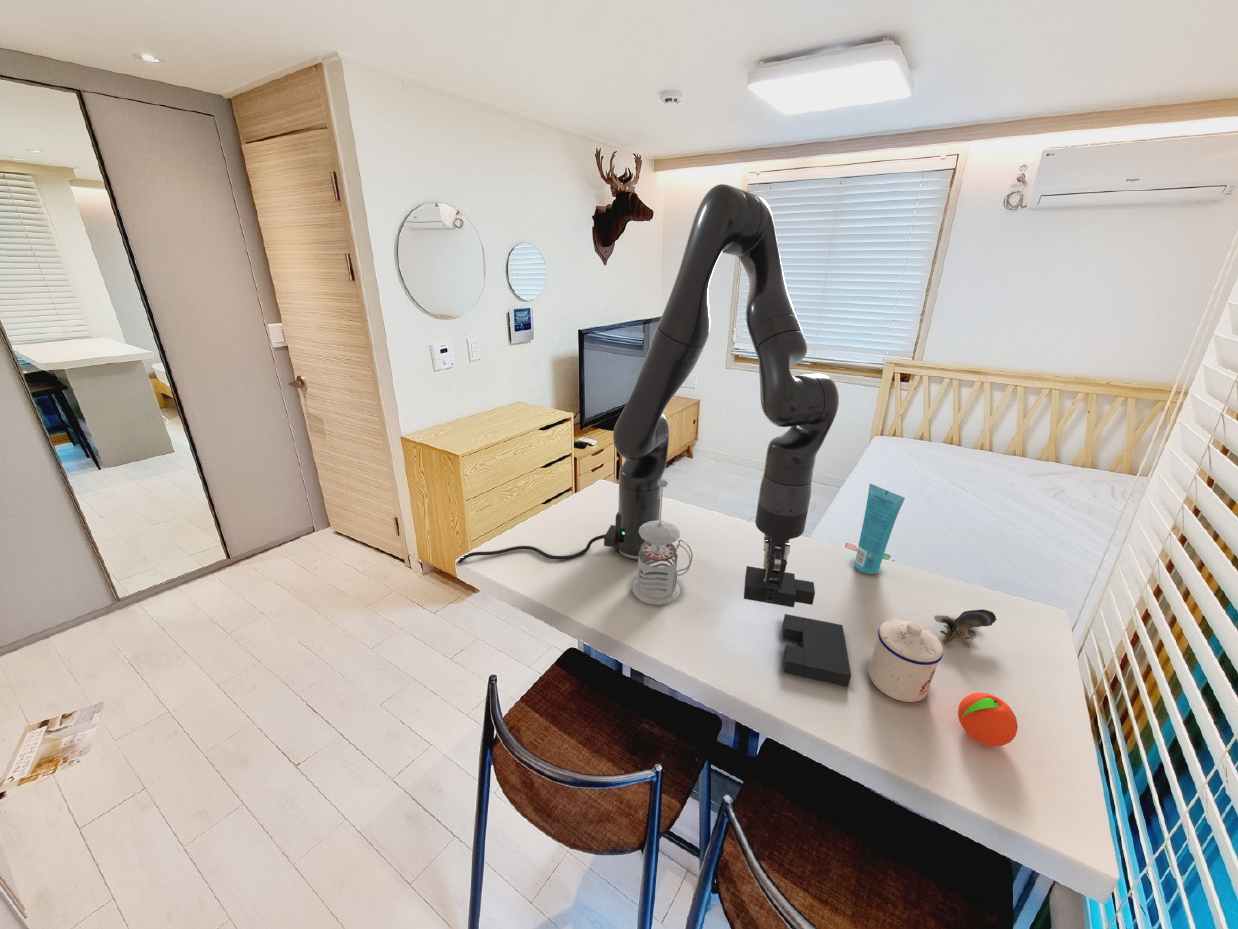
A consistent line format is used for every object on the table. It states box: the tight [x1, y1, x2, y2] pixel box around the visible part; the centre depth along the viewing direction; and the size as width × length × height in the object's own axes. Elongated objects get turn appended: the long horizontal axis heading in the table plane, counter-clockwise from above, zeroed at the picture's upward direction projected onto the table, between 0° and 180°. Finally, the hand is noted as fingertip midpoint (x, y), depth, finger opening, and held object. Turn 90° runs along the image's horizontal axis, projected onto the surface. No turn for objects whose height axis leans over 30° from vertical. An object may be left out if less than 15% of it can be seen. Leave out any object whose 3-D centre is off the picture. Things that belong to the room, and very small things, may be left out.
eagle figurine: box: [933, 609, 998, 646], centre depth 91 cm, size 8×7×9 cm
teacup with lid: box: [867, 619, 944, 703], centre depth 81 cm, size 12×9×12 cm
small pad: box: [743, 565, 816, 608], centre depth 84 cm, size 11×6×2 cm, turn 75°
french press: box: [631, 478, 694, 606], centre depth 97 cm, size 10×12×25 cm
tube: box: [854, 483, 906, 575], centre depth 107 cm, size 7×5×19 cm, turn 39°
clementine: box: [957, 692, 1019, 747], centre depth 72 cm, size 8×7×7 cm
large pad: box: [782, 613, 852, 688], centre depth 87 cm, size 10×12×2 cm
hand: (768, 588), depth 85 cm, fingers closed on small pad, 6 cm apart
